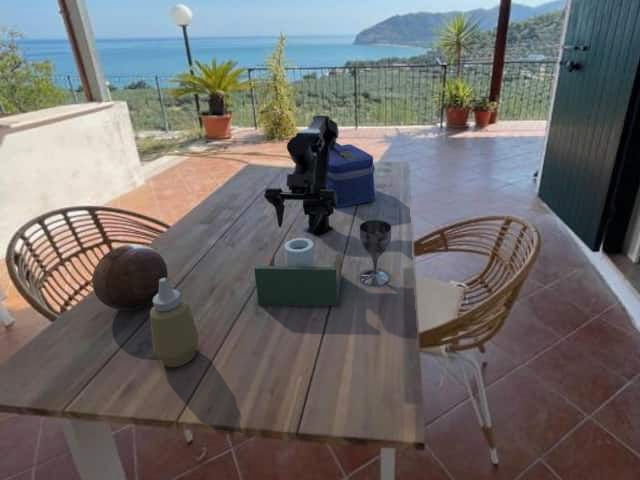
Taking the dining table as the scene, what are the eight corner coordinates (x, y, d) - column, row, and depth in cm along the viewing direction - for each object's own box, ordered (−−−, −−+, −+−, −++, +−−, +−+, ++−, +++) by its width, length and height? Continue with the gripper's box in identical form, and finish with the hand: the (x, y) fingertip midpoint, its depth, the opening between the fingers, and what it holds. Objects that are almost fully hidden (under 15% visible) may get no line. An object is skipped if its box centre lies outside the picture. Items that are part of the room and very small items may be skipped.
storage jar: (302, 279, 102) (299, 235, 97) (321, 288, 98) (319, 243, 94) (282, 291, 97) (278, 245, 92) (302, 301, 93) (298, 254, 89)
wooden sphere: (185, 289, 98) (175, 236, 93) (143, 328, 85) (127, 269, 79) (134, 282, 101) (121, 230, 96) (85, 319, 87) (66, 262, 82)
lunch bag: (305, 185, 170) (303, 139, 162) (349, 178, 178) (349, 134, 171) (331, 210, 144) (330, 157, 136) (381, 201, 152) (382, 150, 145)
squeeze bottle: (166, 343, 80) (149, 268, 74) (206, 340, 81) (192, 266, 75) (150, 374, 73) (129, 294, 66) (194, 371, 74) (177, 291, 67)
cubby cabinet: (270, 274, 104) (267, 241, 101) (342, 275, 104) (341, 242, 100) (257, 304, 92) (253, 268, 89) (337, 306, 92) (336, 269, 88)
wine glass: (368, 289, 98) (369, 236, 92) (354, 274, 104) (354, 224, 99) (395, 281, 101) (397, 229, 96) (380, 266, 108) (381, 217, 102)
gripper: (262, 158, 100) (251, 215, 94) (334, 160, 98) (328, 218, 92) (274, 176, 110) (265, 229, 104) (339, 178, 108) (334, 232, 102)
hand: (297, 227), depth 100 cm, fingers open, 9 cm apart
